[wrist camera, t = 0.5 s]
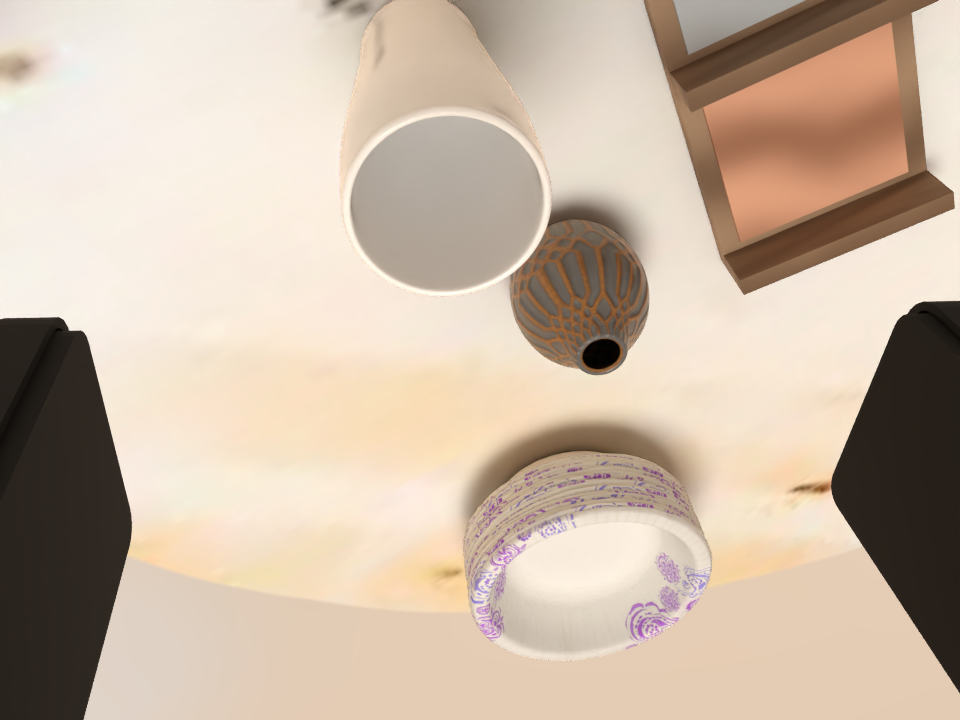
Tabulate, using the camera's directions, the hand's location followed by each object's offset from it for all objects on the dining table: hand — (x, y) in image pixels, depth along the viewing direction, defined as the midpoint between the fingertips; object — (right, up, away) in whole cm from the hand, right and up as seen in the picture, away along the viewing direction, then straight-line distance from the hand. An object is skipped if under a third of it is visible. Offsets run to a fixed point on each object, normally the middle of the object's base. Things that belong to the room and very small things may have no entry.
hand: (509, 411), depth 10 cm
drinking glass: (-3, +15, +28) cm, 32 cm away
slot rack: (+13, +16, +29) cm, 36 cm away
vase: (+4, +6, +36) cm, 37 cm away
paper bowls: (+6, -9, +48) cm, 49 cm away
